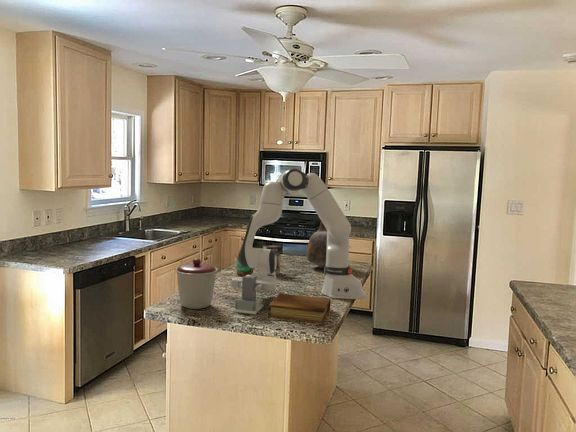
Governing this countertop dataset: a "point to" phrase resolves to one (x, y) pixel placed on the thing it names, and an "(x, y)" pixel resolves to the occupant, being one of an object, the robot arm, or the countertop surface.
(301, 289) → the countertop surface
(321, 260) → the jug
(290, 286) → the countertop surface
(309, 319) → the diary
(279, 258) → the coffee box
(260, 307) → the pocket
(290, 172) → the robot arm
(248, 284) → the grey block with knob
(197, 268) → the canister
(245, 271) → the food container
